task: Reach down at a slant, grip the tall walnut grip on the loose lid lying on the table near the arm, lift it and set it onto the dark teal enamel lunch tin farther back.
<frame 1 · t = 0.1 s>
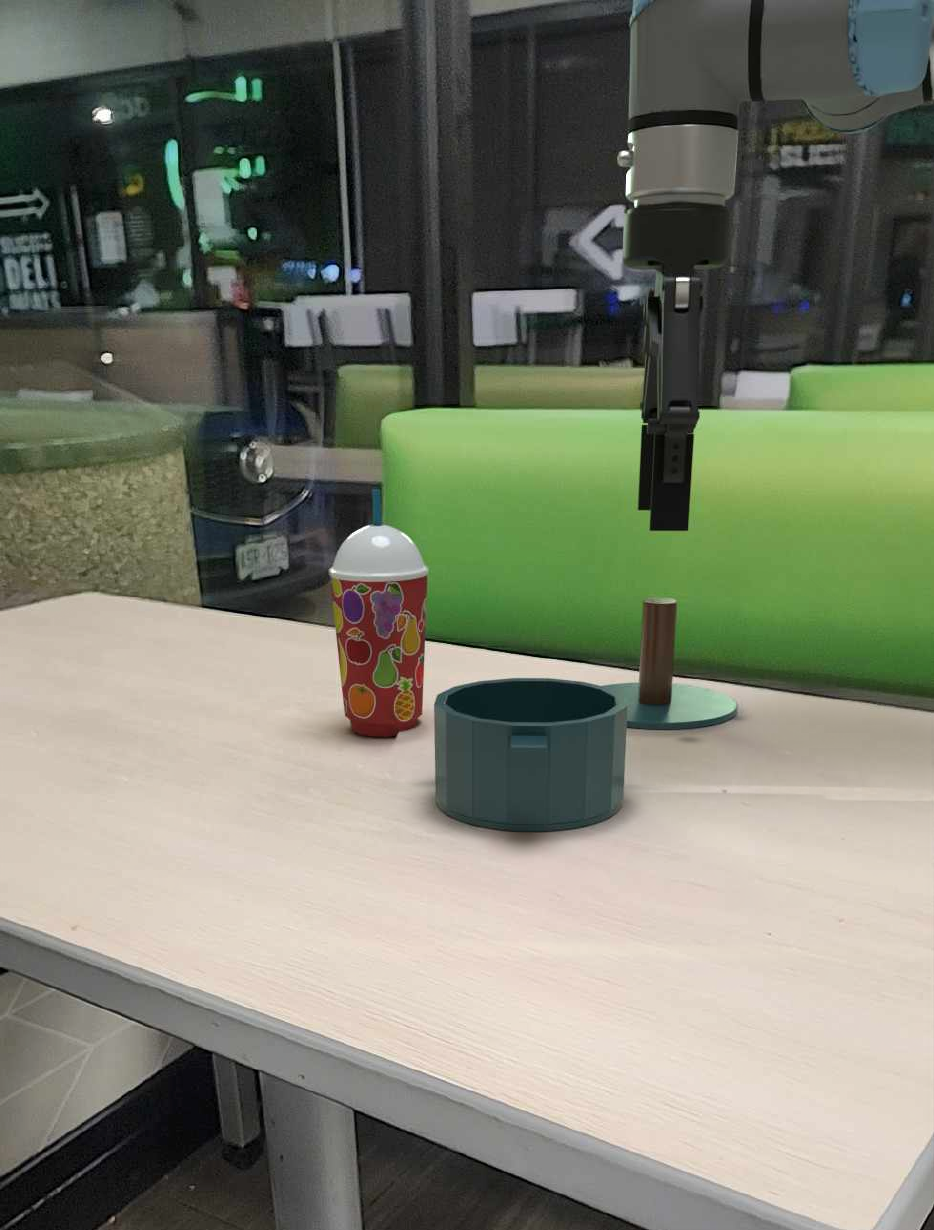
hand: (661, 519, 97), 18 cm above the table, tool pointing down, fingers open, 13 cm apart
tin: (529, 800, 93), on the table
smoothie: (384, 731, 111), on the table
lid: (654, 707, 115), point 1 cm above the table
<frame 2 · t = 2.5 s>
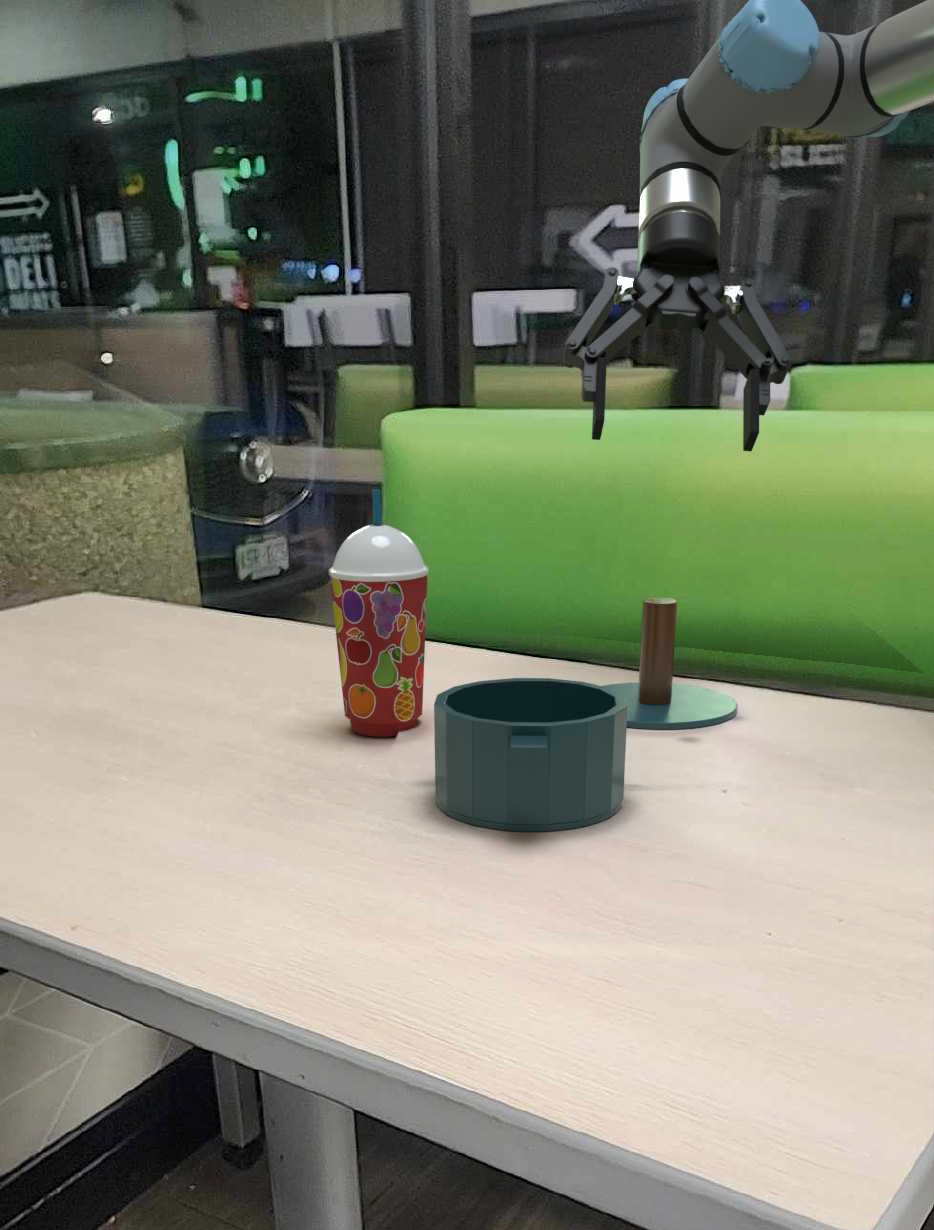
hand: (674, 436, 112), 23 cm above the table, tool tilted 40°, fingers open, 13 cm apart
nothing on the table moved.
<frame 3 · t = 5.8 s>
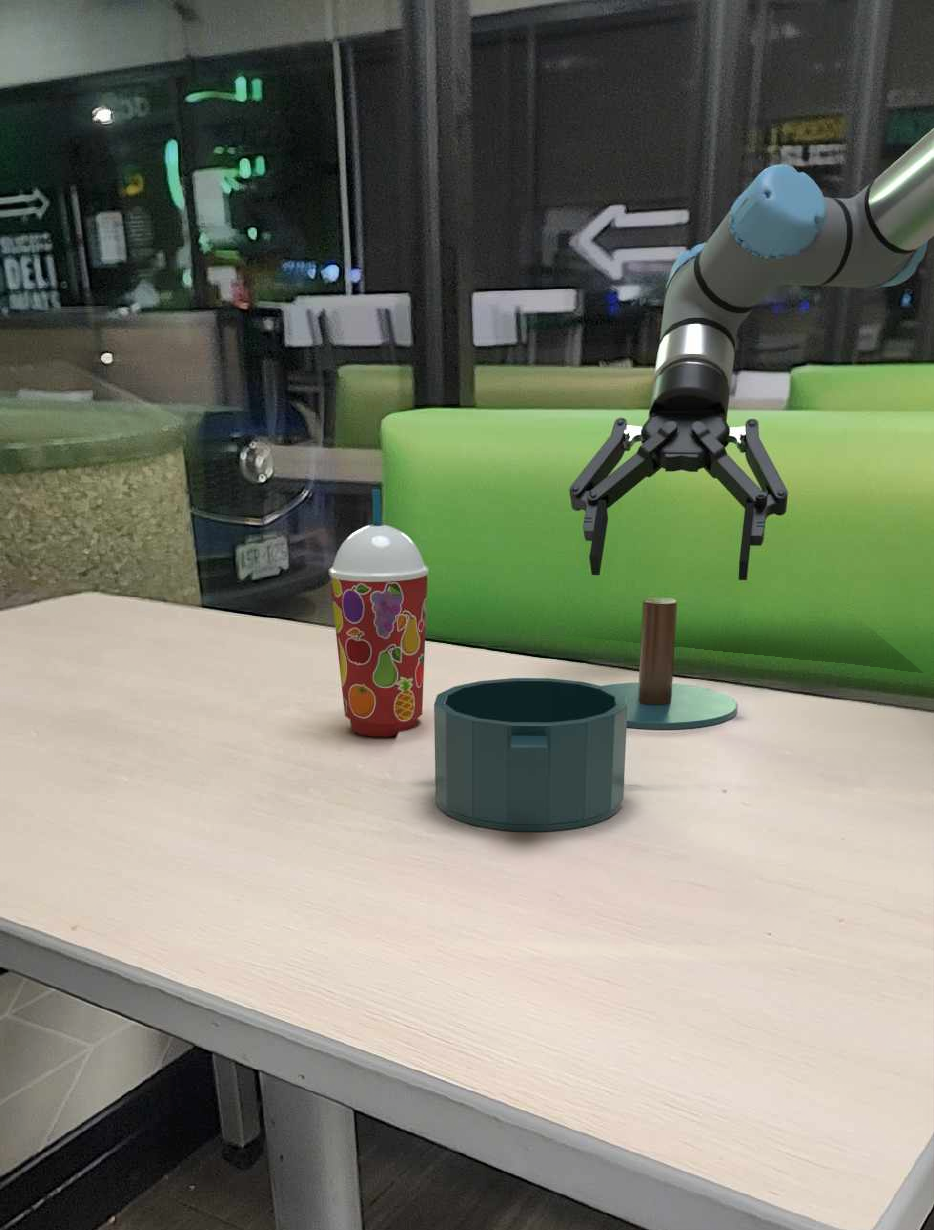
hand: (667, 568, 116), 12 cm above the table, tool tilted 45°, fingers open, 13 cm apart
nothing on the table moved.
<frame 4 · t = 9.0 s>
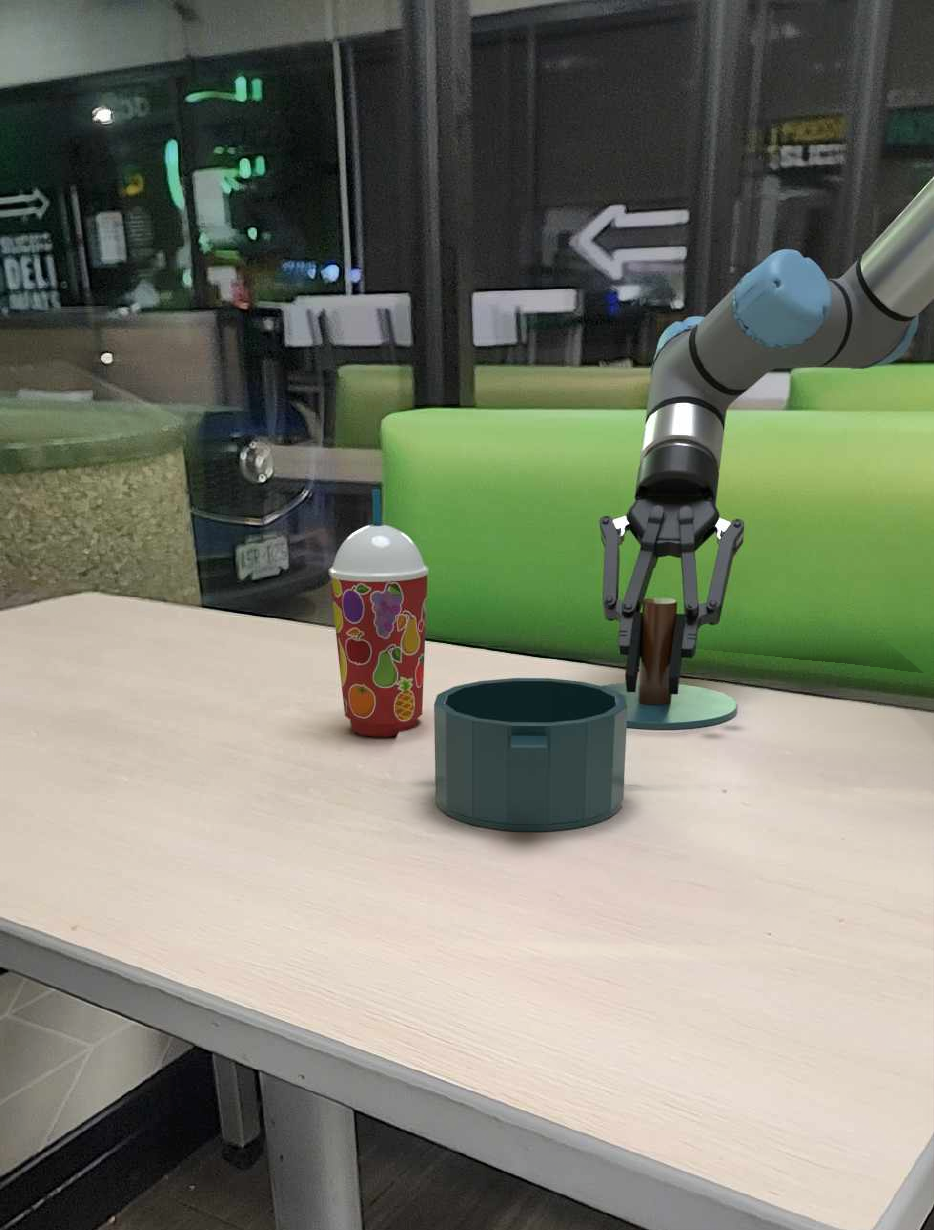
hand: (651, 684, 110), 4 cm above the table, tool tilted 45°, fingers closed on lid, 3 cm apart
lid: (654, 707, 115), point 1 cm above the table, touching gripper
everything else where it was.
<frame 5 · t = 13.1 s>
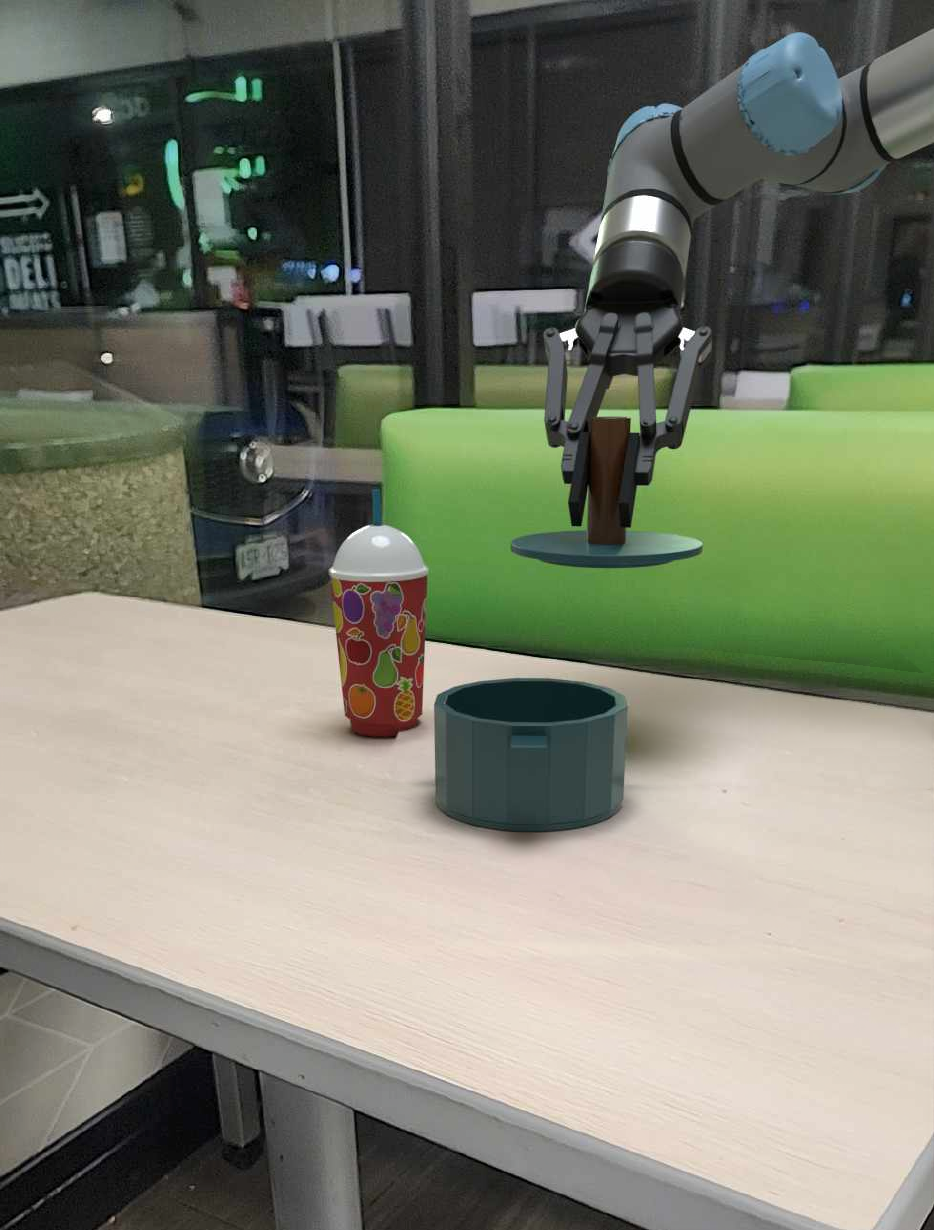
hand: (599, 514, 93), 19 cm above the table, tool tilted 45°, fingers closed on lid, 3 cm apart
lid: (605, 549, 98), point 16 cm above the table, touching gripper
everything else where it was.
when the fingers open (11 cm above the table, at t = 17.5 s): lid stays where it is, resting on tin.
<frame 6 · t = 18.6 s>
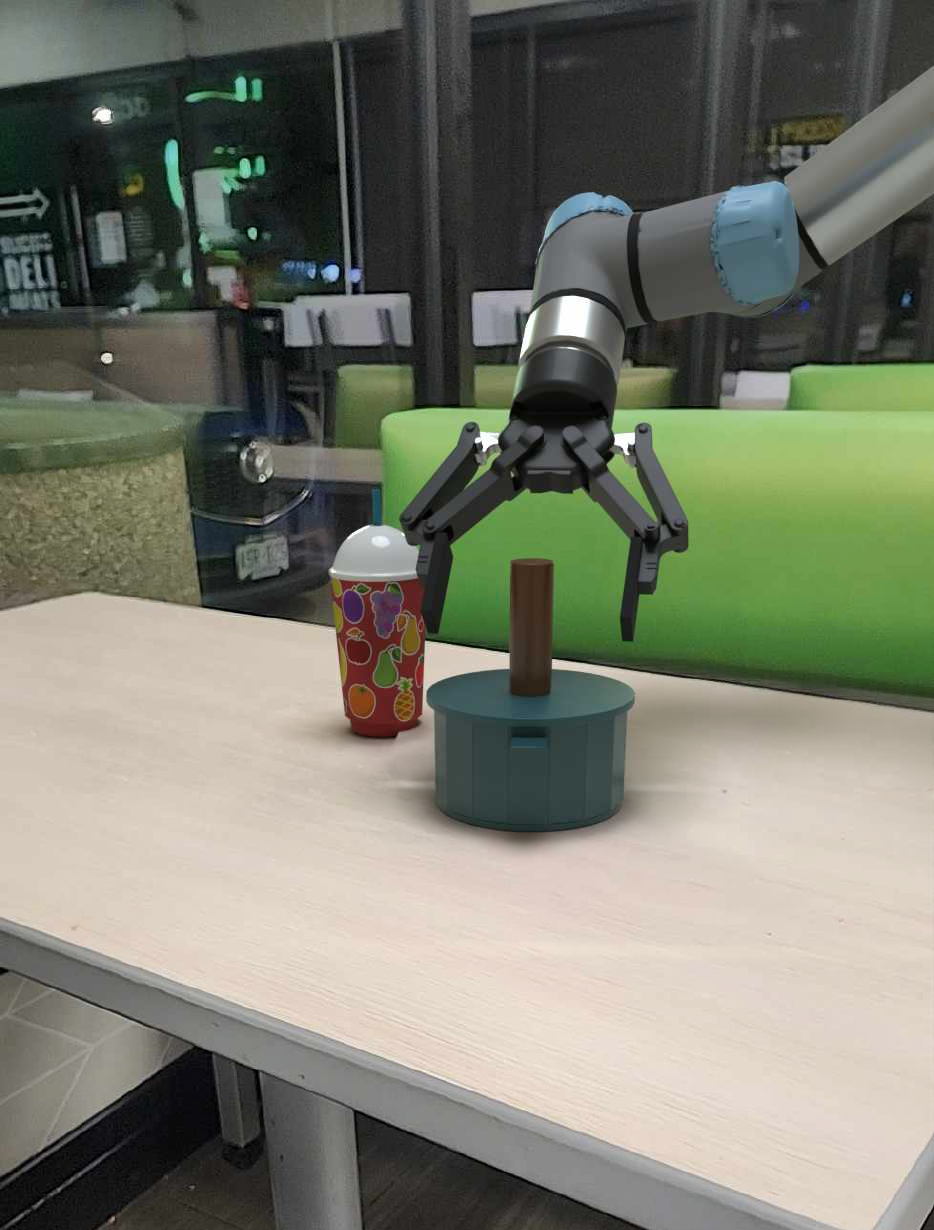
hand: (526, 626, 86), 13 cm above the table, tool tilted 45°, fingers open, 13 cm apart
lid: (530, 699, 90), point 7 cm above the table, touching tin
everything else where it was.
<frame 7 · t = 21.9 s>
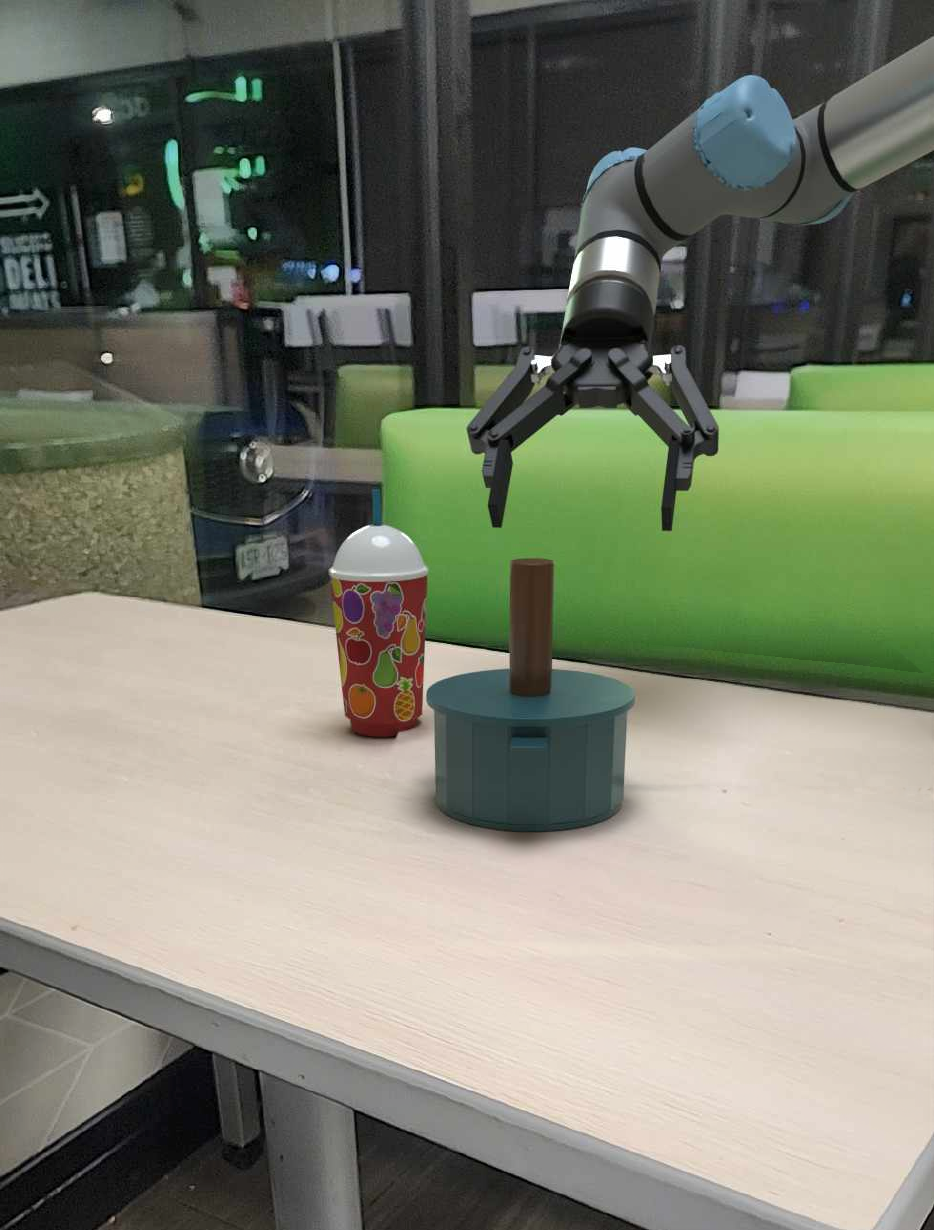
hand: (579, 518, 99), 18 cm above the table, tool tilted 45°, fingers open, 13 cm apart
nothing on the table moved.
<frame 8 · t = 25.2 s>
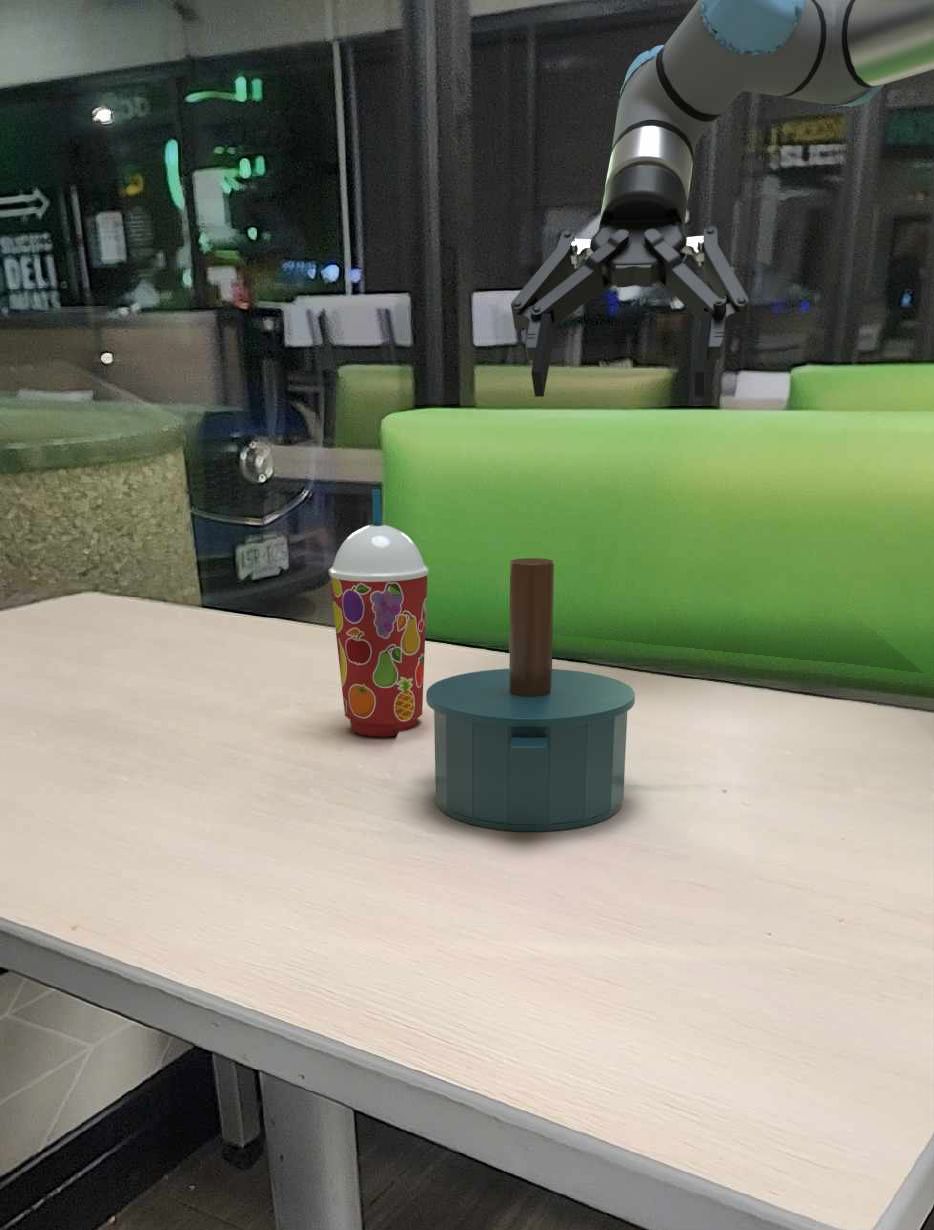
hand: (617, 384, 106), 28 cm above the table, tool tilted 45°, fingers open, 13 cm apart
nothing on the table moved.
at the end: lid 0.1 cm off-centre on the tin, point 7.5 cm above the tin's base; lid tilted 0°; the gripper is holding nothing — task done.
